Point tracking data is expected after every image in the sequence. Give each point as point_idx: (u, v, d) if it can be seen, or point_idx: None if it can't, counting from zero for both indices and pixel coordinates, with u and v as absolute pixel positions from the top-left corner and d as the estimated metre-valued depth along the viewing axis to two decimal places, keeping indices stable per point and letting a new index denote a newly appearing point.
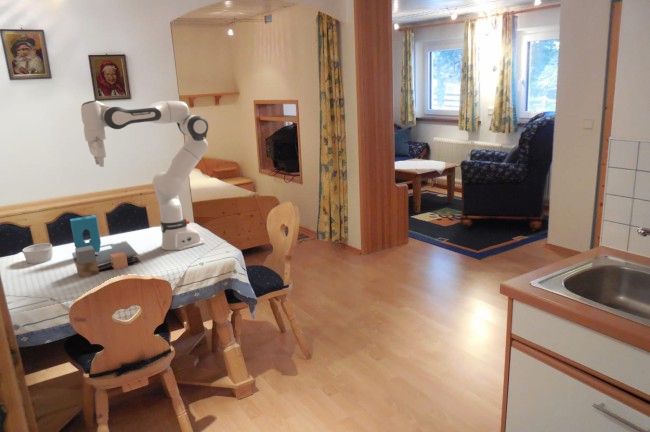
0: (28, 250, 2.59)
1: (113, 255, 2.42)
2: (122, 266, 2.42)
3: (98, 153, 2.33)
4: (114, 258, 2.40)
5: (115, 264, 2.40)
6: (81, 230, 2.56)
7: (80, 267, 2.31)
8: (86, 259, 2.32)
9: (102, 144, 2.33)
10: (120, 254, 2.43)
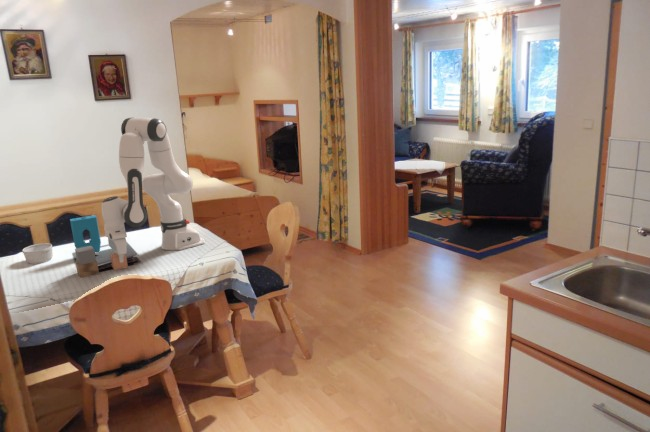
0: (28, 250, 2.59)
1: (113, 255, 2.42)
2: (122, 266, 2.42)
3: None
4: (114, 258, 2.39)
5: (115, 264, 2.40)
6: (81, 230, 2.56)
7: (80, 267, 2.31)
8: (86, 259, 2.32)
9: None
10: None
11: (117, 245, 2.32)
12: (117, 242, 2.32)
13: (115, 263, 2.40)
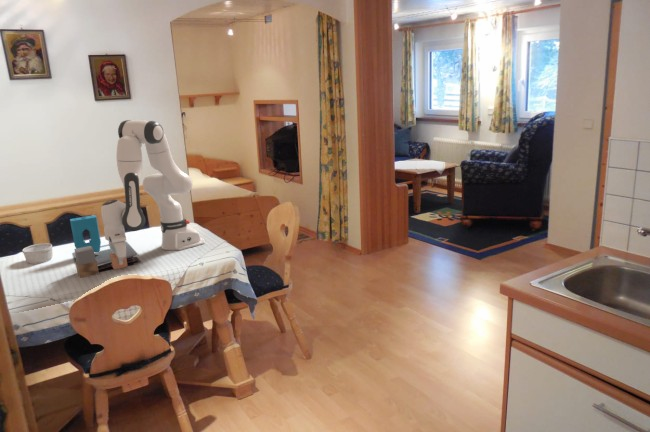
0: (28, 250, 2.59)
1: (113, 255, 2.42)
2: (122, 266, 2.42)
3: None
4: (114, 258, 2.39)
5: (115, 264, 2.40)
6: (81, 230, 2.56)
7: (80, 267, 2.31)
8: (86, 259, 2.32)
9: None
10: None
11: (116, 248, 2.33)
12: (116, 245, 2.33)
13: (115, 262, 2.40)
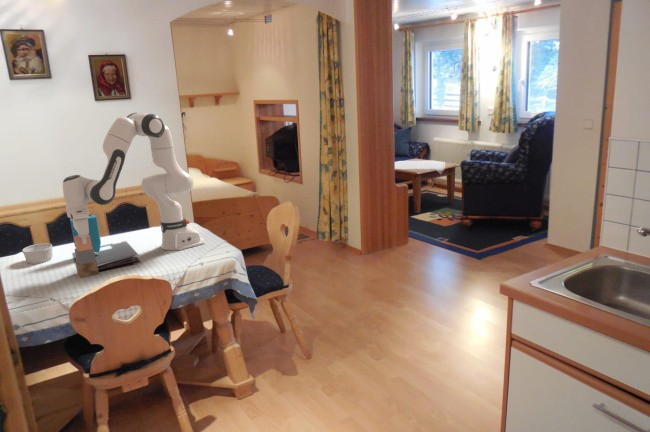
0: (28, 250, 2.59)
1: (76, 237, 2.32)
2: (86, 248, 2.32)
3: None
4: (77, 240, 2.29)
5: (78, 246, 2.30)
6: None
7: (80, 267, 2.31)
8: (86, 259, 2.32)
9: None
10: None
11: (78, 226, 2.22)
12: (78, 223, 2.22)
13: (78, 245, 2.30)
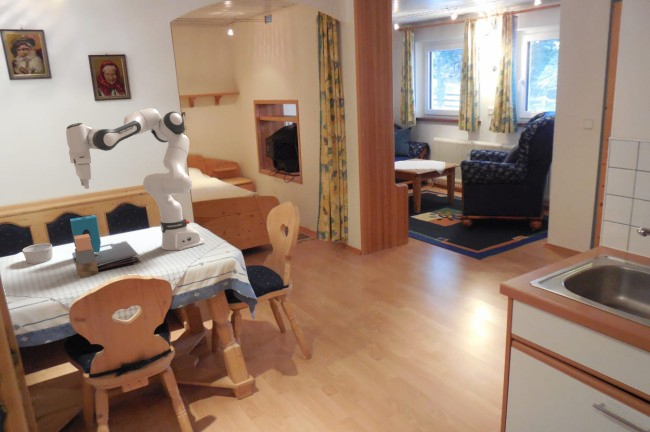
0: (28, 250, 2.59)
1: (76, 237, 2.32)
2: (86, 248, 2.32)
3: None
4: (77, 240, 2.29)
5: (78, 246, 2.30)
6: (81, 230, 2.56)
7: (79, 267, 2.31)
8: (86, 259, 2.32)
9: None
10: (84, 236, 2.33)
11: (81, 170, 2.35)
12: (81, 167, 2.35)
13: (78, 245, 2.30)
